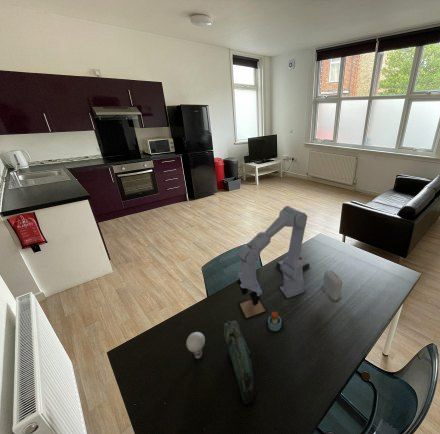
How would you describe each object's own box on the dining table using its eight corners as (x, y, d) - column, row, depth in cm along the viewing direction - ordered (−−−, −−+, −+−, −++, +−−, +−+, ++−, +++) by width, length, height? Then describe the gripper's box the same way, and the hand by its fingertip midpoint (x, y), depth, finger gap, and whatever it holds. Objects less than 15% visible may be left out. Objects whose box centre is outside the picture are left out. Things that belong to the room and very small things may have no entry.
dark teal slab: (225, 352, 88) (220, 313, 80) (242, 346, 91) (239, 307, 82) (240, 409, 72) (236, 368, 63) (260, 400, 74) (259, 359, 66)
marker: (276, 321, 101) (276, 310, 98) (279, 326, 99) (279, 315, 96) (270, 324, 100) (270, 312, 97) (273, 329, 98) (273, 317, 95)
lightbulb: (198, 368, 83) (193, 347, 78) (185, 358, 86) (180, 338, 81) (211, 353, 88) (207, 333, 83) (199, 345, 91) (195, 325, 86)
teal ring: (277, 318, 103) (277, 313, 101) (283, 328, 98) (283, 323, 97) (266, 322, 101) (266, 317, 99) (271, 333, 96) (271, 327, 95)
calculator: (309, 262, 132) (289, 271, 124) (309, 269, 134) (288, 278, 126) (297, 253, 140) (276, 261, 132) (296, 259, 142) (276, 267, 134)
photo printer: (340, 298, 113) (344, 278, 108) (333, 301, 111) (336, 280, 106) (328, 285, 121) (331, 265, 116) (321, 287, 120) (323, 267, 115)
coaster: (257, 297, 113) (257, 297, 113) (265, 311, 106) (265, 310, 106) (239, 304, 110) (239, 303, 110) (246, 318, 102) (246, 317, 102)
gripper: (230, 268, 96) (232, 293, 102) (251, 287, 86) (252, 314, 92) (244, 261, 100) (246, 286, 106) (266, 278, 91) (266, 305, 96)
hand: (250, 298), depth 100 cm, fingers open, 7 cm apart
